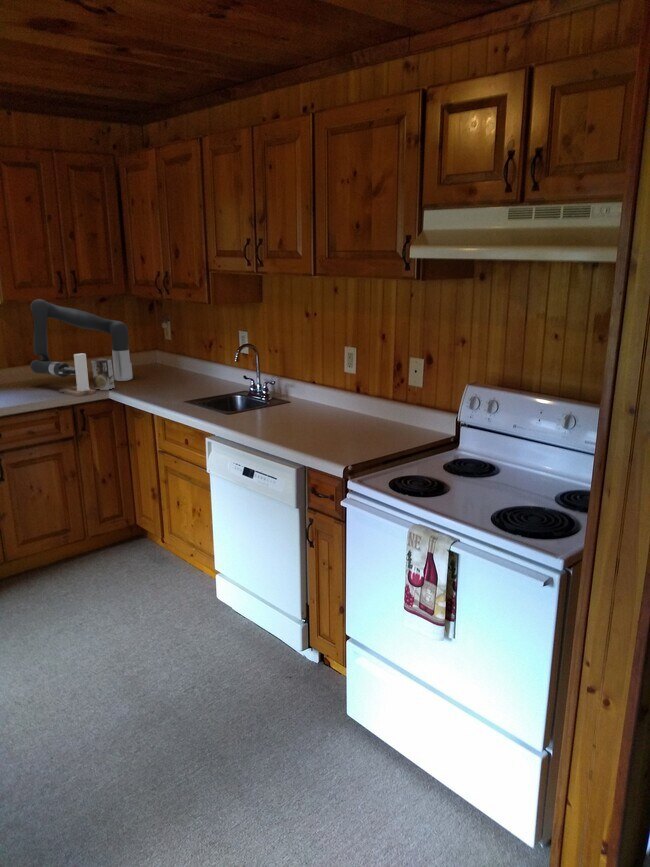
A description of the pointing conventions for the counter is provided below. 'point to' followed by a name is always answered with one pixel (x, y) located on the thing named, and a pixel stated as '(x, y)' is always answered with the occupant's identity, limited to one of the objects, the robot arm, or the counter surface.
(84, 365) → the slider tab
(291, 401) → the counter surface
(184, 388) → the counter surface
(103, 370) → the coffee box
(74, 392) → the slider board
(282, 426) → the counter surface
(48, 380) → the counter surface
